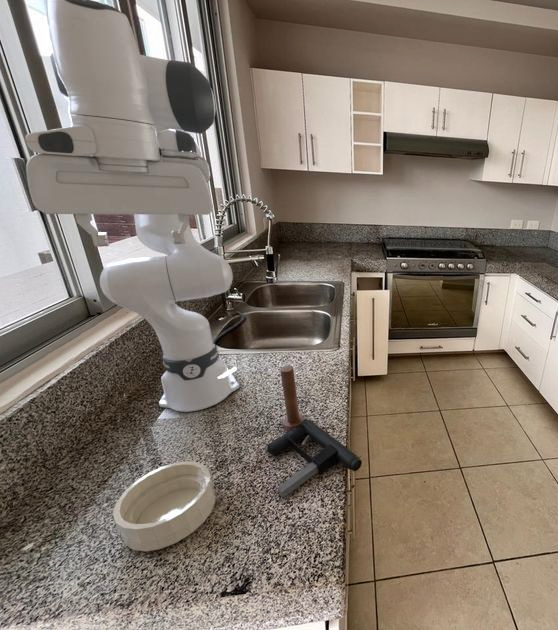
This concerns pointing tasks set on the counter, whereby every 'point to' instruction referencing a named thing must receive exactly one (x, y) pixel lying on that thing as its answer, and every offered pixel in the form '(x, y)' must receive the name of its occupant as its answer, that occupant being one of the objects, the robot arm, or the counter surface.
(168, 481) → the bowl
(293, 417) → the stirring stick
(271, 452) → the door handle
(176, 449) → the counter surface
